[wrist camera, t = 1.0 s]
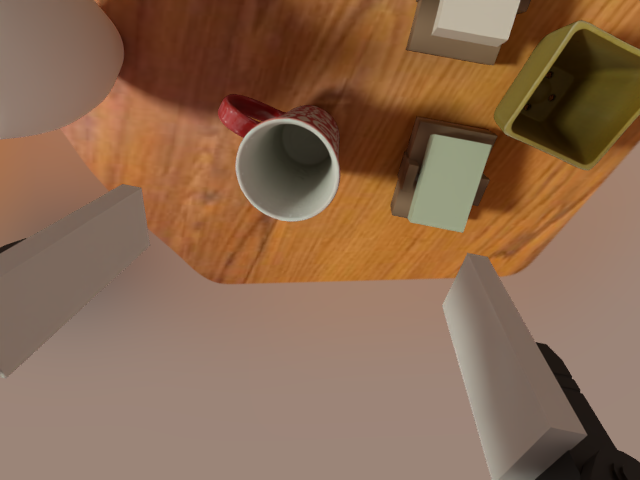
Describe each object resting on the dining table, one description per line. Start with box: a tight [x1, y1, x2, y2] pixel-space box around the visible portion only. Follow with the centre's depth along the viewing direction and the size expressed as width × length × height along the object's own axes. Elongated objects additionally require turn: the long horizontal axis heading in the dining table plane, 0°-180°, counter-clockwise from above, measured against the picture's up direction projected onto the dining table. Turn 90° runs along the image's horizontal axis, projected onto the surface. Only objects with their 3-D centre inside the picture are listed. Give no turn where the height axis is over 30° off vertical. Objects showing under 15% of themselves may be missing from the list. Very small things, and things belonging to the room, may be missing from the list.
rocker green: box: [408, 134, 492, 233], centre depth 34 cm, size 9×6×2 cm, turn 171°
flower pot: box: [494, 20, 640, 170], centre depth 30 cm, size 9×9×9 cm
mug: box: [218, 94, 340, 221], centre depth 33 cm, size 13×9×14 cm
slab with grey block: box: [391, 117, 497, 218], centre depth 37 cm, size 11×8×5 cm
